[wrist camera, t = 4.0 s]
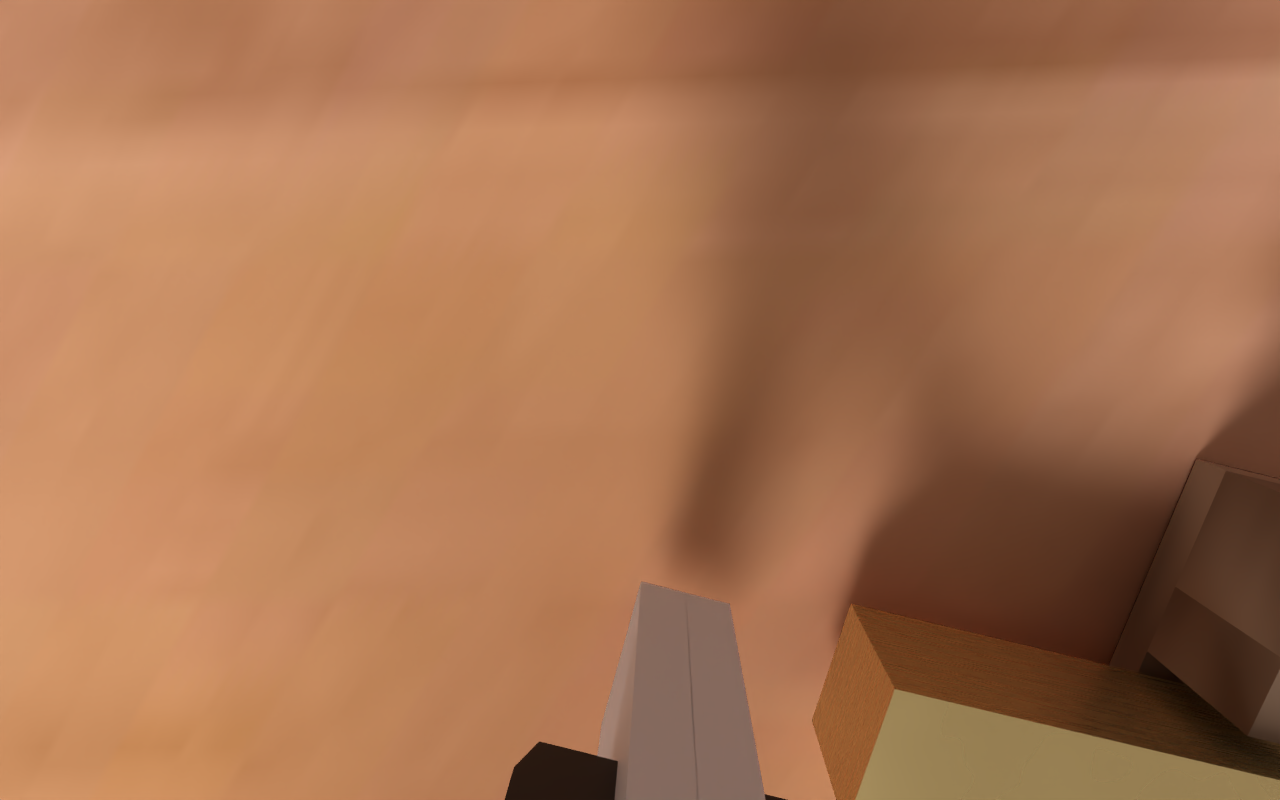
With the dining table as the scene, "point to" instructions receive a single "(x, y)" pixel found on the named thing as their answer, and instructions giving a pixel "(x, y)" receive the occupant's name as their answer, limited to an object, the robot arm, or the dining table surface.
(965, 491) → the dining table surface
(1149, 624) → the socket block
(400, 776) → the dining table surface
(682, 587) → the dining table surface
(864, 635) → the bar
